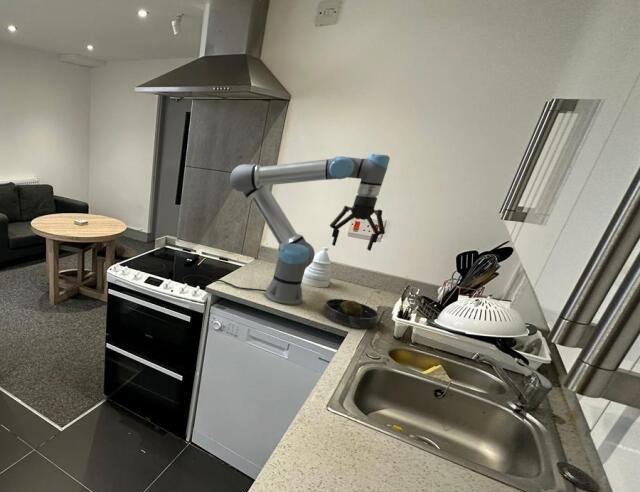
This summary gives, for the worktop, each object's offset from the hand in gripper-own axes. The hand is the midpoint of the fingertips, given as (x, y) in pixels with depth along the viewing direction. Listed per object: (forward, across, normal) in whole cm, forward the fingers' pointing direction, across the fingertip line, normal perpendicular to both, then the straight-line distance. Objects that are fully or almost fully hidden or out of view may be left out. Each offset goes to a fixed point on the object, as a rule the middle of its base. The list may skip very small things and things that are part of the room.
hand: (350, 247), depth 164 cm
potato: (+25, +2, -18) cm, 30 cm away
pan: (+25, +2, -18) cm, 31 cm away
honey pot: (+25, -5, +24) cm, 35 cm away
